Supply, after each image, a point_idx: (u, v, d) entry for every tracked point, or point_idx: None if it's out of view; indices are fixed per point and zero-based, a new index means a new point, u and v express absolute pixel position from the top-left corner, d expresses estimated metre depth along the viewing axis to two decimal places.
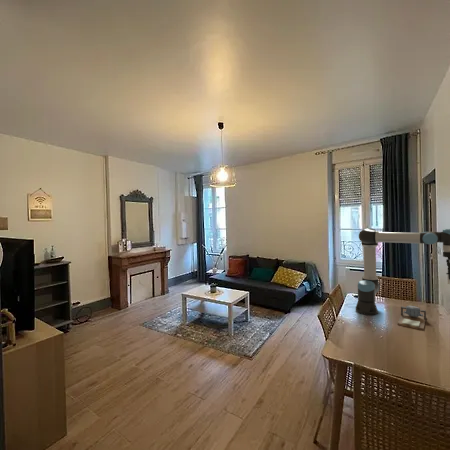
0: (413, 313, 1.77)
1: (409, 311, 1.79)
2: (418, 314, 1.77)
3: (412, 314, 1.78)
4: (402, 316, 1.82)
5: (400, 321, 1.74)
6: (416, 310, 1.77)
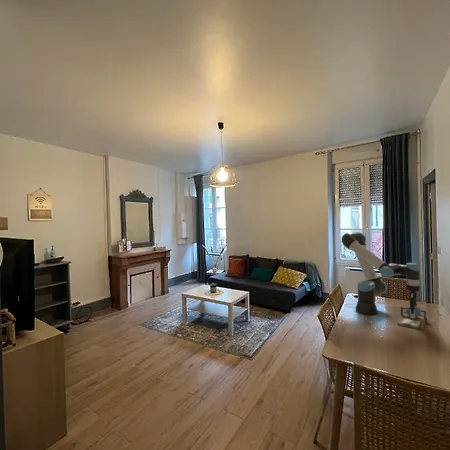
0: None
1: (409, 311, 1.79)
2: (418, 314, 1.77)
3: None
4: (402, 316, 1.82)
5: (400, 321, 1.74)
6: (416, 310, 1.77)
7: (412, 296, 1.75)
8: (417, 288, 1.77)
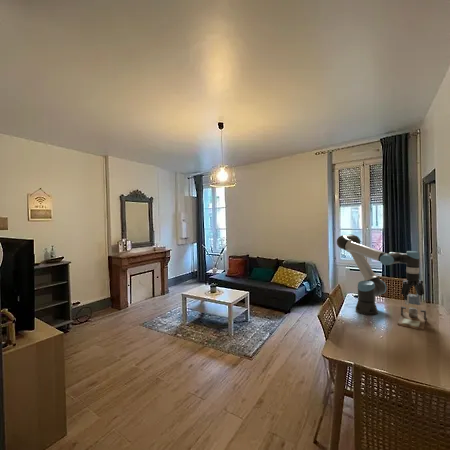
0: None
1: None
2: (413, 302, 1.77)
3: None
4: (402, 316, 1.82)
5: (400, 321, 1.74)
6: (410, 297, 1.78)
7: (404, 282, 1.80)
8: (412, 276, 1.77)
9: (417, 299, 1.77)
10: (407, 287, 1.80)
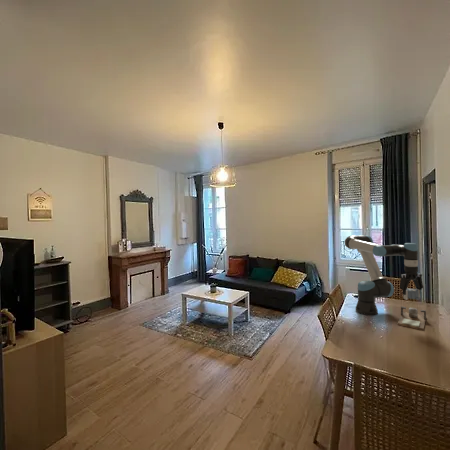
0: None
1: None
2: (412, 296, 1.68)
3: None
4: (402, 316, 1.82)
5: (400, 321, 1.74)
6: (409, 292, 1.69)
7: (402, 276, 1.70)
8: (411, 269, 1.68)
9: (416, 293, 1.67)
10: (405, 281, 1.71)
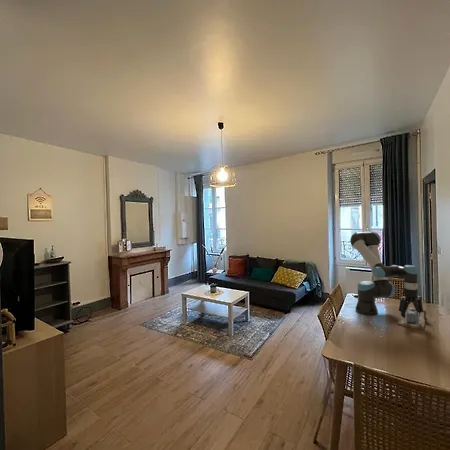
0: None
1: None
2: (411, 320, 1.67)
3: None
4: None
5: (400, 321, 1.74)
6: (408, 315, 1.68)
7: (401, 298, 1.69)
8: (410, 292, 1.67)
9: (416, 317, 1.66)
10: (405, 304, 1.70)
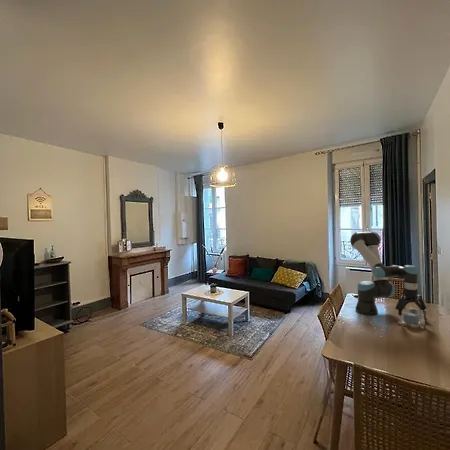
0: (406, 319, 1.69)
1: None
2: (411, 322, 1.67)
3: (405, 320, 1.70)
4: None
5: (400, 321, 1.74)
6: (408, 317, 1.68)
7: (401, 297, 1.69)
8: (410, 292, 1.67)
9: (416, 319, 1.66)
10: (403, 302, 1.70)
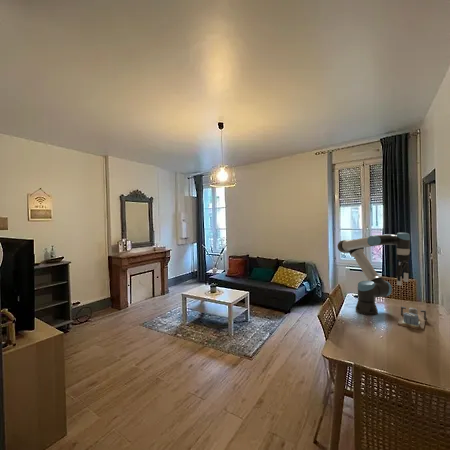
0: (406, 319, 1.69)
1: None
2: (411, 322, 1.67)
3: (405, 320, 1.70)
4: (402, 316, 1.82)
5: (400, 321, 1.74)
6: (408, 317, 1.68)
7: (399, 263, 1.76)
8: (406, 257, 1.76)
9: (416, 319, 1.66)
10: None
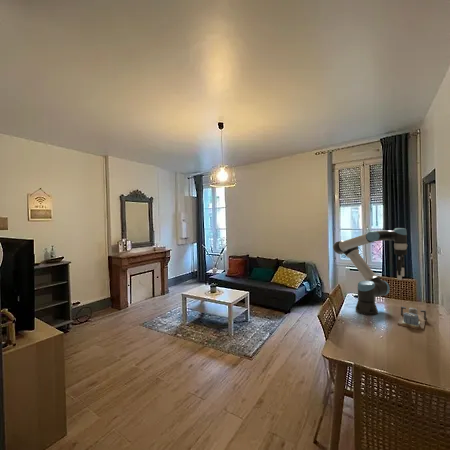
0: (406, 319, 1.69)
1: None
2: (411, 322, 1.67)
3: (405, 320, 1.70)
4: (402, 316, 1.82)
5: (400, 321, 1.74)
6: (408, 317, 1.68)
7: (399, 258, 1.79)
8: (404, 251, 1.80)
9: (416, 319, 1.66)
10: None
